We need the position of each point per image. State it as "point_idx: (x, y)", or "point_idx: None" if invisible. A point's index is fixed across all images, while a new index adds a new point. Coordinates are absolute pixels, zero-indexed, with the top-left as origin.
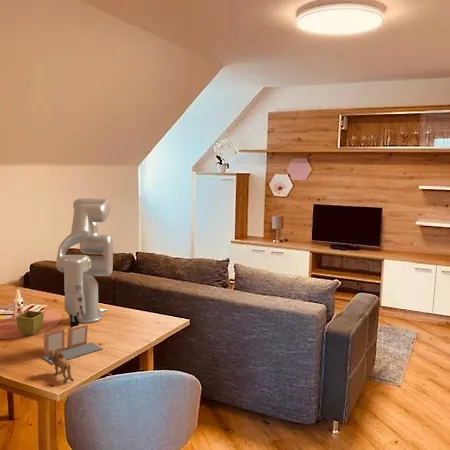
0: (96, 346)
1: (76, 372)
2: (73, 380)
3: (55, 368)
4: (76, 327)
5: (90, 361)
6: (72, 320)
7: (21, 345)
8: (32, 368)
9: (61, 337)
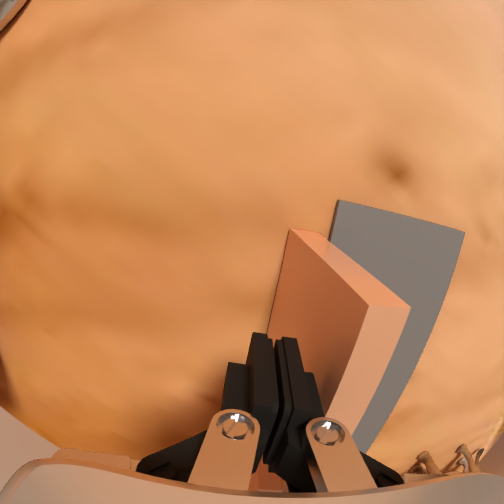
0: (420, 234)
1: (466, 427)
2: (483, 450)
3: None
4: (351, 424)
5: (476, 360)
6: (286, 482)
7: (70, 423)
8: None
9: None
